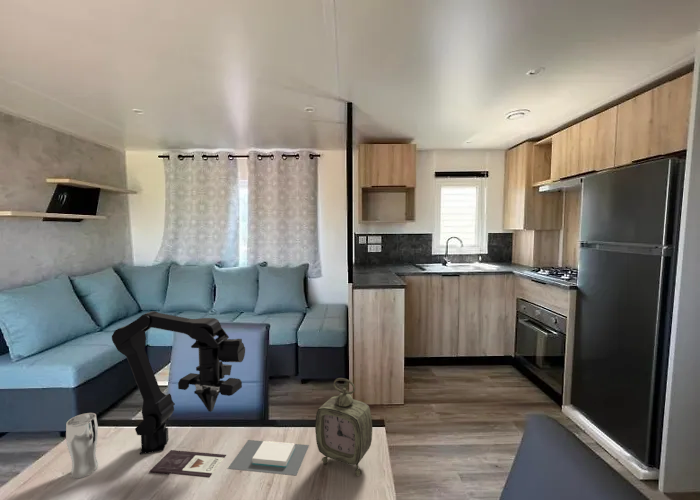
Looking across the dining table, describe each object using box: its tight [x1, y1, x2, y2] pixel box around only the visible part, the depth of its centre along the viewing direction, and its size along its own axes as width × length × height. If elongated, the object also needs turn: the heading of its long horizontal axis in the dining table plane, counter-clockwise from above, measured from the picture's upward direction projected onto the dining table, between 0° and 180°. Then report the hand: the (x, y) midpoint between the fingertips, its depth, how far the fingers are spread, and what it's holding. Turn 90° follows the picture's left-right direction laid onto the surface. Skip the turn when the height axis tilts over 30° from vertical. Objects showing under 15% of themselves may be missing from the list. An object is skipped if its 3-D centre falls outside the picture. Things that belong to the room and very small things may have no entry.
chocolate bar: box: [148, 449, 227, 478], centre depth 97 cm, size 9×1×18 cm
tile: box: [252, 440, 296, 468], centre depth 99 cm, size 2×8×10 cm
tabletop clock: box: [314, 377, 373, 477], centre depth 96 cm, size 14×9×25 cm, turn 62°
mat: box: [227, 439, 310, 476], centre depth 99 cm, size 20×13×1 cm, turn 81°
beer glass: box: [65, 412, 99, 479], centre depth 94 cm, size 7×7×15 cm
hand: (210, 410), depth 103 cm, fingers closed
